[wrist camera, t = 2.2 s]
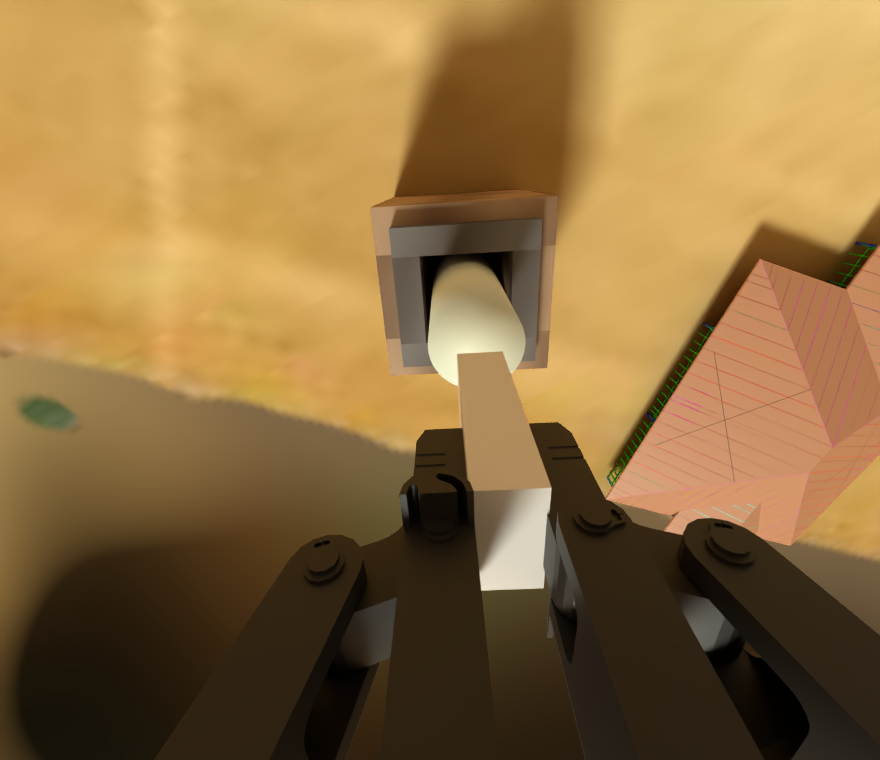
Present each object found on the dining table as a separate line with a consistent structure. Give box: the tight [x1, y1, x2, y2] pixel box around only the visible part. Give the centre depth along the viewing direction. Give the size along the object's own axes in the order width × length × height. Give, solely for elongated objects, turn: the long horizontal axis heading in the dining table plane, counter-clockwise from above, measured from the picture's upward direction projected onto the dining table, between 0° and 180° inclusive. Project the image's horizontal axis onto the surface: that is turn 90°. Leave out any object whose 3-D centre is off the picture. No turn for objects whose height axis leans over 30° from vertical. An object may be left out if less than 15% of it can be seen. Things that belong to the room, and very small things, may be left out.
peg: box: [428, 253, 525, 386], centre depth 22 cm, size 4×4×12 cm
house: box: [606, 242, 880, 546], centre depth 38 cm, size 23×33×8 cm
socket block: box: [370, 189, 558, 376], centre depth 29 cm, size 10×10×13 cm
